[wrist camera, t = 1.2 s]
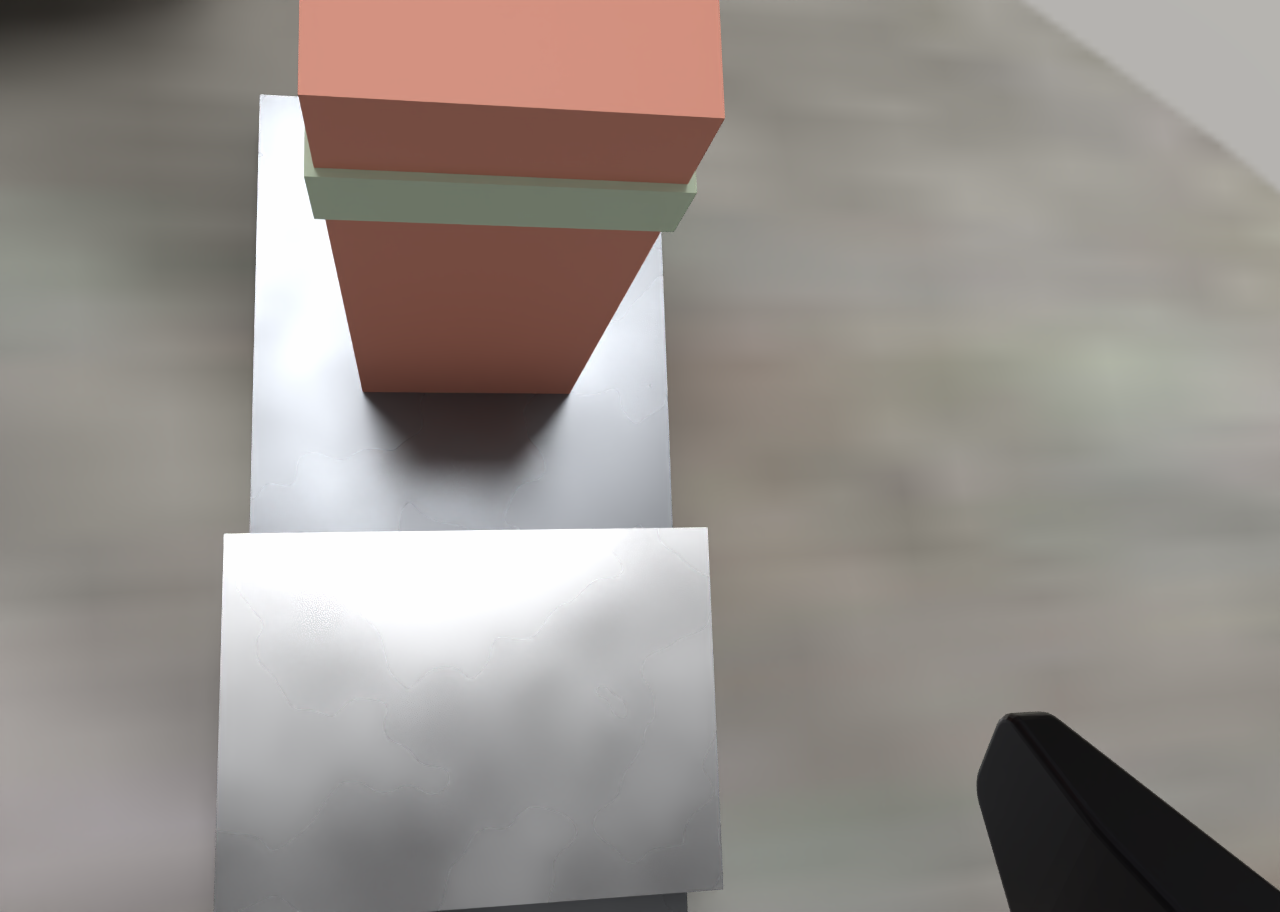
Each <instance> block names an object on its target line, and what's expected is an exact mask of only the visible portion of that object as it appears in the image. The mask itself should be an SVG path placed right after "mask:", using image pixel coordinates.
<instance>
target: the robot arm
mask: <svg viewBox="0 0 1280 912" xmlns="http://www.w3.org/2000/svg"><path fill="white" fill-rule="evenodd" d="M977 796H978V801H979V805H980V808H981V812H982V815H983V819H984V822H985V825H986V829H987V832H988V836H989V839H990V843H991V846H992V850H993V853H994V857H995V860H996V864H997V867H998V870H999V874H1000V877H1001V881H1002V884H1003V888H1004V891H1005V895H1006V898H1007V902H1008V905H1009V909H1010V912H1280V891H1279V890H1278V889H1277V888H1275V887H1274V886H1273V885H1271V884H1270V883H1269V882H1268V881H1266V880H1265V879H1264V878H1262V877H1261V876H1260V875H1259V874H1257V873H1256V872H1255V871H1253V870H1252V869H1251V868H1250V867H1248V866H1247V865H1246V864H1244V863H1243V862H1242V861H1241V860H1239V859H1238V858H1237V857H1235V856H1234V855H1233V854H1232V853H1230V852H1229V851H1228V850H1226V849H1225V848H1224V847H1223V846H1221V845H1220V844H1219V843H1217V842H1216V841H1215V840H1214V839H1212V838H1211V837H1210V836H1208V835H1207V834H1206V833H1205V832H1203V831H1202V830H1201V829H1199V828H1198V827H1197V826H1196V825H1194V824H1193V823H1192V822H1190V821H1189V820H1188V819H1187V818H1185V817H1184V816H1183V815H1181V814H1180V813H1179V812H1178V811H1176V810H1175V809H1174V808H1172V807H1171V806H1170V805H1169V804H1167V803H1166V802H1165V801H1163V800H1162V799H1161V798H1160V797H1158V796H1157V795H1156V794H1154V793H1153V792H1152V791H1151V790H1149V789H1148V788H1147V787H1145V786H1144V785H1143V784H1142V783H1140V782H1139V781H1138V780H1136V779H1135V778H1134V777H1133V776H1131V775H1130V774H1129V773H1127V772H1126V771H1125V770H1124V769H1122V768H1121V767H1120V766H1118V765H1117V764H1116V763H1115V762H1113V761H1112V760H1111V759H1109V758H1108V757H1107V756H1106V755H1104V754H1103V753H1102V752H1100V751H1099V750H1098V749H1097V748H1095V747H1094V746H1093V745H1091V744H1090V743H1089V742H1088V741H1086V740H1085V739H1084V738H1082V737H1081V736H1080V735H1079V734H1077V733H1076V732H1075V731H1073V730H1072V729H1071V728H1070V727H1068V726H1067V725H1066V724H1064V723H1063V722H1062V721H1061V720H1059V719H1058V718H1056V717H1055V716H1053V715H1051V714H1049V713H1046V712H1022V713H1010V714H1006V715H1005V716H1003V717H1002V718H1001V719H1000V720H999V722H998V724H997V726H996V728H995V731H994V733H993V736H992V738H991V741H990V743H989V746H988V749H987V751H986V754H985V756H984V759H983V761H982V764H981V766H980V769H979V772H978V776H977Z"/></svg>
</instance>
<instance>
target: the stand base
mask: <svg viewBox="0 0 1280 912" xmlns="http://www.w3.org/2000/svg"><path fill="white" fill-rule="evenodd" d="M304 127H305V125H304V120H303V116H302V111H301V107H300V102H299V97H295V96H277V95H260V114H259V157H258V200H257V242H256V285H255V327H254V370H253V413H252V455H251V498H250V534H224V555H223V591H222V628H221V665H220V702H219V738H218V775H217V812H216V849H215V885H214V912H687V892H695V891H708V890H721V889H723V870H722V847H721V824H720V801H719V778H718V755H717V732H716V709H715V686H714V664H713V641H712V618H711V595H710V572H709V549H708V527H697V528H673V525H672V499H671V473H670V447H669V421H668V395H667V369H666V343H665V317H664V291H663V265H662V239H661V233H660V234H659V236H658V238H657V240H656V241H655V243H654V245H653V247H652V249H651V250H650V252H649V254H648V256H647V257H646V259H645V261H644V263H643V265H642V266H641V268H640V270H639V272H638V273H637V275H636V277H635V279H634V280H633V282H632V284H631V286H630V288H629V289H628V291H627V293H626V295H625V296H624V298H623V300H622V302H621V304H620V305H619V307H618V309H617V311H616V312H615V314H614V316H613V318H612V320H611V321H610V323H609V325H608V327H607V328H606V330H605V332H604V334H603V336H602V337H601V339H600V341H599V343H598V344H597V346H596V348H595V350H594V352H593V353H592V355H591V357H590V359H589V360H588V362H587V364H586V366H585V367H584V369H583V371H582V373H581V375H580V376H579V378H578V380H577V382H576V383H575V385H574V387H573V389H572V391H571V392H570V394H533V393H419V392H363V391H362V387H361V382H360V378H359V373H358V368H357V364H356V359H355V355H354V350H353V345H352V341H351V336H350V332H349V327H348V322H347V318H346V313H345V309H344V304H343V299H342V295H341V290H340V286H339V281H338V277H337V272H336V267H335V263H334V258H333V254H332V249H331V244H330V240H329V235H328V231H327V226H326V221H325V219H314V217H313V213H312V208H311V204H310V200H309V196H308V192H307V188H306V184H305V180H304Z"/></svg>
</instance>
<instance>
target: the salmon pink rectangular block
mask: <svg viewBox="0 0 1280 912" xmlns="http://www.w3.org/2000/svg"><path fill="white" fill-rule="evenodd" d="M298 97H299V102H300V107H301V111H302V116H303V120H304V125H305V127H304V180H305V184H306V188H307V192H308V196H309V200H310V204H311V208H312V213H313V217H314V219H325V221H326V226H327V231H328V235H329V240H330V244H331V249H332V254H333V258H334V263H335V267H336V272H337V277H338V281H339V286H340V290H341V295H342V299H343V304H344V309H345V313H346V318H347V322H348V327H349V332H350V336H351V341H352V345H353V350H354V355H355V359H356V364H357V368H358V373H359V378H360V382H361V387H362V391H363V392H419V393H533V394H570V392H571V391H572V389H573V387H574V385H575V383H576V382H577V380H578V378H579V376H580V375H581V373H582V371H583V369H584V367H585V366H586V364H587V362H588V360H589V359H590V357H591V355H592V353H593V352H594V350H595V348H596V346H597V344H598V343H599V341H600V339H601V337H602V336H603V334H604V332H605V330H606V328H607V327H608V325H609V323H610V321H611V320H612V318H613V316H614V314H615V312H616V311H617V309H618V307H619V305H620V304H621V302H622V300H623V298H624V296H625V295H626V293H627V291H628V289H629V288H630V286H631V284H632V282H633V280H634V279H635V277H636V275H637V273H638V272H639V270H640V268H641V266H642V265H643V263H644V261H645V259H646V257H647V256H648V254H649V252H650V250H651V249H652V247H653V245H654V243H655V241H656V240H657V238H658V236H659V234H660V233H661V232H674V231H675V229H676V227H677V226H678V224H679V222H680V221H681V219H682V217H683V216H684V214H685V212H686V211H687V209H688V207H689V206H690V204H691V202H692V201H693V199H694V197H695V195H696V194H697V184H696V169H697V167H698V165H699V163H700V162H701V160H702V158H703V156H704V154H705V153H706V151H707V149H708V147H709V146H710V144H711V142H712V140H713V138H714V137H715V135H716V133H717V131H718V130H719V128H720V126H721V124H722V122H723V121H724V119H725V112H724V92H723V71H722V51H721V31H720V10H719V0H300V2H299V59H298Z"/></svg>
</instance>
